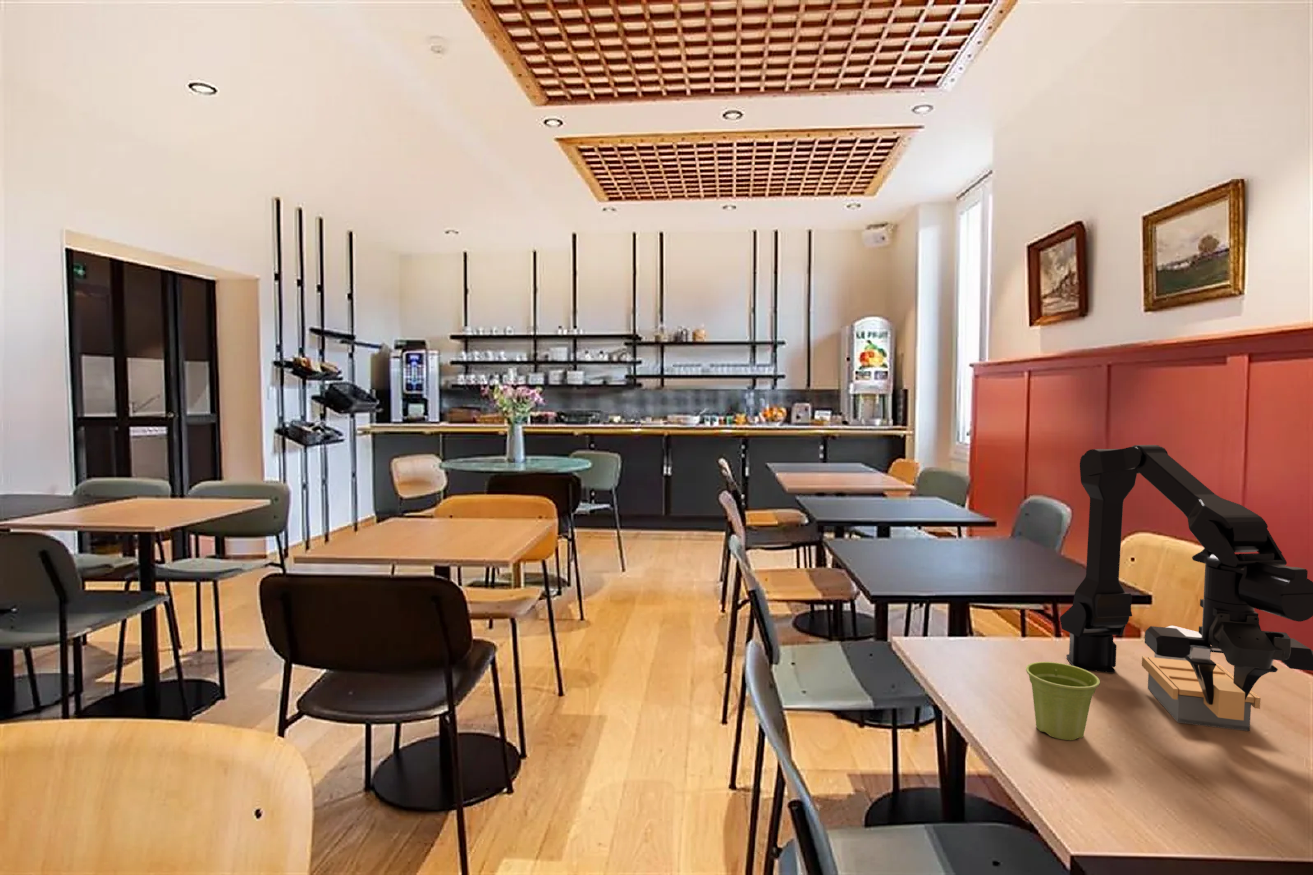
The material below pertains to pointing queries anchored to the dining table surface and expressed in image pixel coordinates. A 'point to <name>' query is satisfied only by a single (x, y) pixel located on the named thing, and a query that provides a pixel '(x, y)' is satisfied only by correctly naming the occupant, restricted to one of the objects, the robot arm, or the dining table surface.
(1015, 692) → the dining table surface
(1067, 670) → the plant pot
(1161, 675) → the lid
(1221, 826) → the dining table surface
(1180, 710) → the tub
